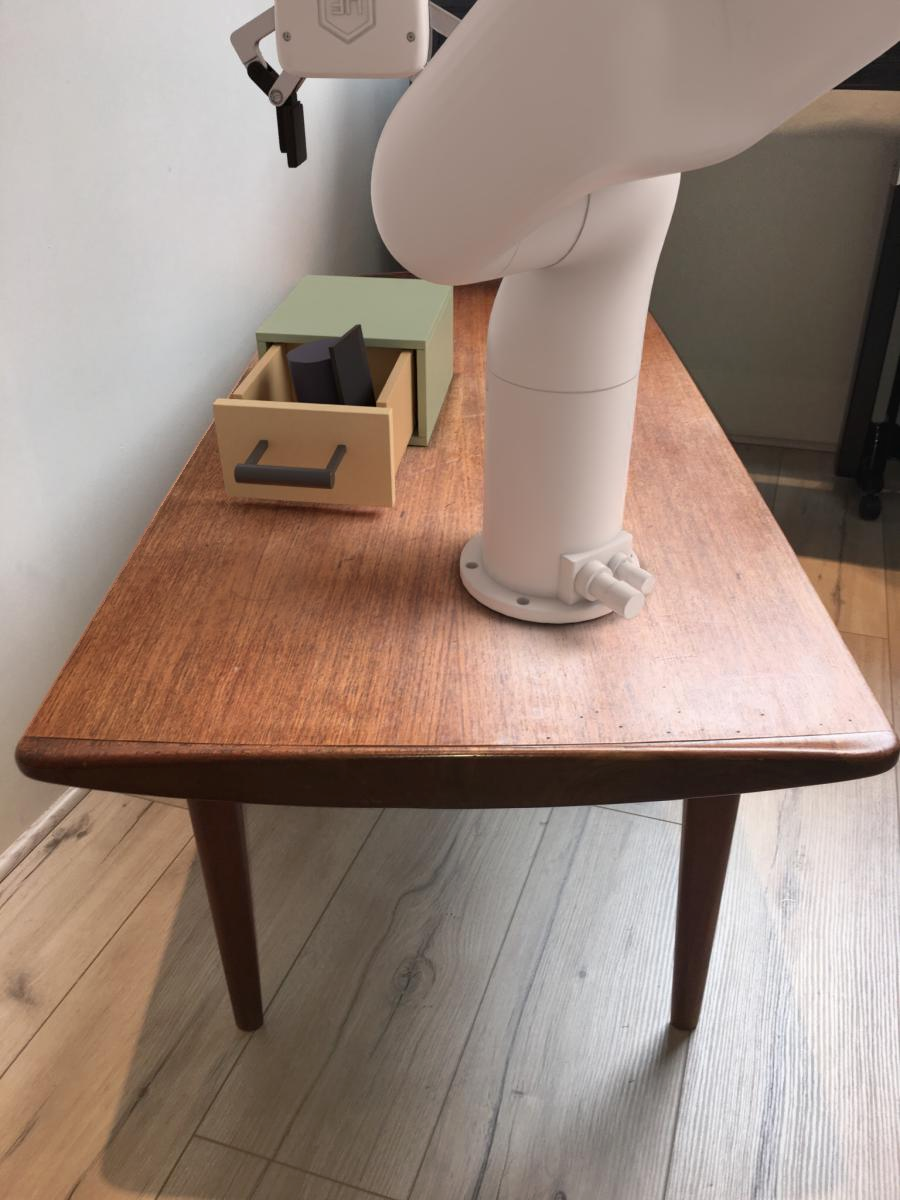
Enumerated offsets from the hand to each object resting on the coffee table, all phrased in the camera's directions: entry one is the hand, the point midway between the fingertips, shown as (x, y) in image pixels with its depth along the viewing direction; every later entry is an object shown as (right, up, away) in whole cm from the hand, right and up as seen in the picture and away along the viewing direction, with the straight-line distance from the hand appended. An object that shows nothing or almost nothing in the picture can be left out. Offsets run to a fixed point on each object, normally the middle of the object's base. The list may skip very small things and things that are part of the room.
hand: (362, 165), depth 72 cm
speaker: (-3, -19, +11) cm, 22 cm away
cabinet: (-2, -13, +23) cm, 26 cm away
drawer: (-4, -21, +9) cm, 23 cm away
